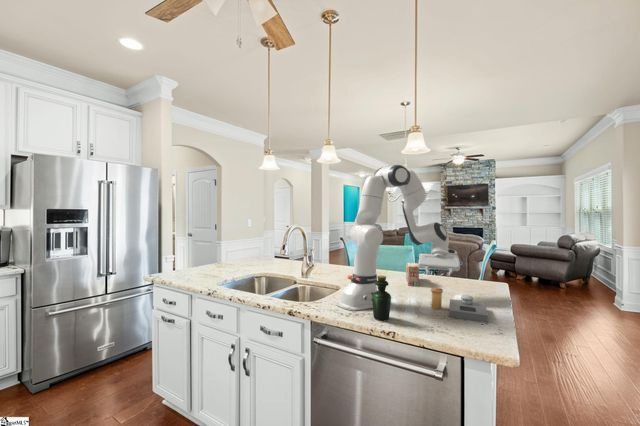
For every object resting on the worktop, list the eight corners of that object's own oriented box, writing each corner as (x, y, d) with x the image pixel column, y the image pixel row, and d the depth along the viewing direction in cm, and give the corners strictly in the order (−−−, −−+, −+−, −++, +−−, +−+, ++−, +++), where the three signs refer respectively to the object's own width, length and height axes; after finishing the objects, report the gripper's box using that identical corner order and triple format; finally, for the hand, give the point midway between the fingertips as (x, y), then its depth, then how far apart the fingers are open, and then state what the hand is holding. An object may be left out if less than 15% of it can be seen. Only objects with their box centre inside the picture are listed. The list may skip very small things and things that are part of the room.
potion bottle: (386, 314, 135) (387, 274, 135) (393, 321, 127) (394, 278, 127) (369, 315, 134) (369, 274, 134) (375, 322, 126) (375, 278, 126)
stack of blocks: (405, 278, 207) (406, 260, 206) (415, 278, 205) (415, 260, 205) (408, 286, 186) (408, 266, 185) (418, 286, 184) (419, 266, 184)
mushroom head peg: (438, 310, 141) (438, 291, 141) (428, 307, 145) (428, 288, 145) (444, 308, 144) (444, 289, 144) (434, 305, 148) (435, 287, 148)
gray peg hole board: (488, 322, 127) (488, 308, 127) (448, 316, 133) (449, 303, 133) (484, 309, 143) (484, 297, 143) (449, 305, 149) (450, 293, 149)
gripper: (418, 248, 165) (416, 269, 156) (460, 251, 157) (460, 273, 148) (419, 255, 169) (417, 276, 161) (460, 258, 161) (459, 281, 152)
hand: (438, 275), depth 154 cm, fingers open, 8 cm apart
